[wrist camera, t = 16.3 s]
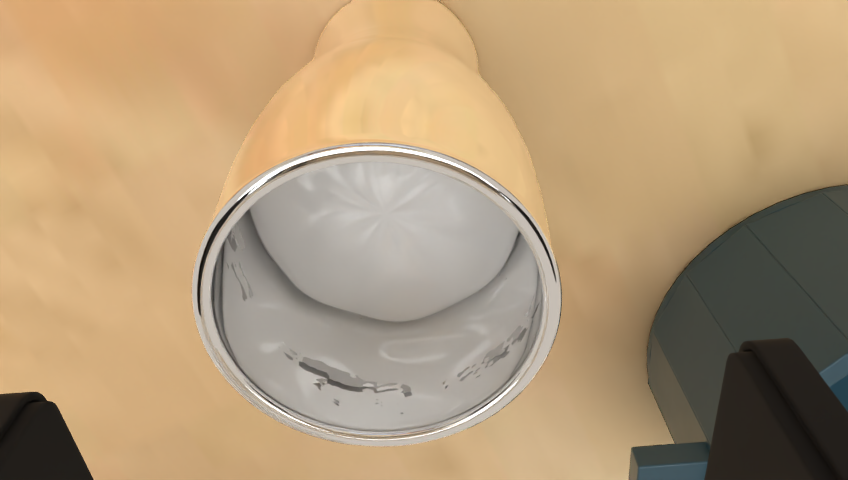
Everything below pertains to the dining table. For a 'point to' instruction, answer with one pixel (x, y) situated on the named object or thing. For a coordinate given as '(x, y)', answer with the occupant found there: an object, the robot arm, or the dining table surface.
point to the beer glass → (380, 240)
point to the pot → (747, 319)
